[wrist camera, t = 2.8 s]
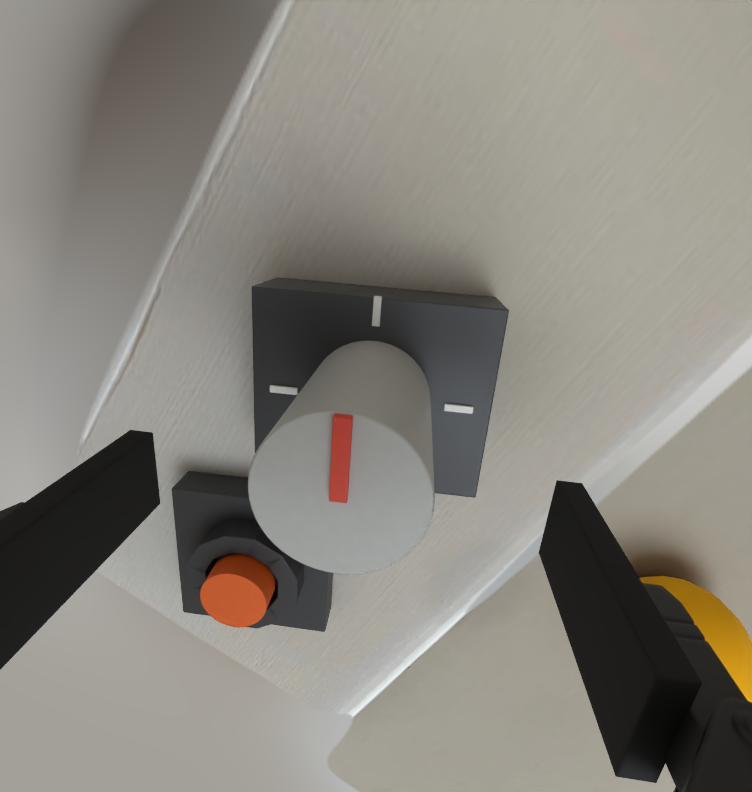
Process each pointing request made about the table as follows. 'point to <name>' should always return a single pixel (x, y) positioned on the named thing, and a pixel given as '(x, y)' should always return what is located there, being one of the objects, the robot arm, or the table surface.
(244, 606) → the power button
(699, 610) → the yellow orange fruit
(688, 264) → the table surface
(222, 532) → the button base
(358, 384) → the timer dial
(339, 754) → the table surface
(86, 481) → the robot arm
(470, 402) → the dial panel
